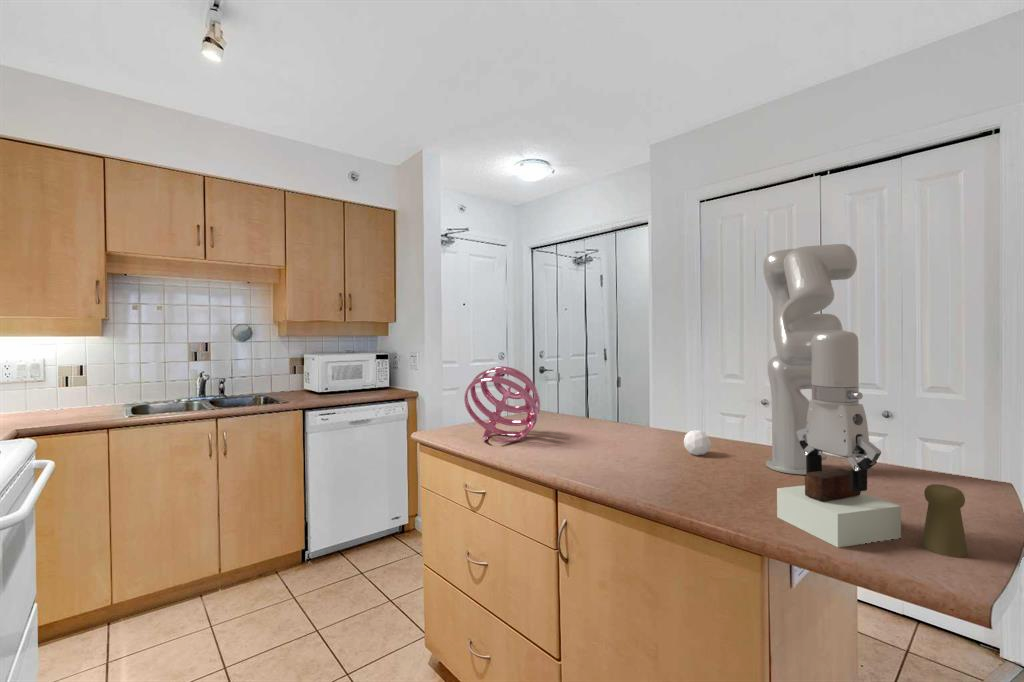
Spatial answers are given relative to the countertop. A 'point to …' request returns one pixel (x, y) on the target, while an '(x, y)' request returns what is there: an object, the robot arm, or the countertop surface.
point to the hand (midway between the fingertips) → (835, 482)
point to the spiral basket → (504, 402)
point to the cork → (944, 521)
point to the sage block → (840, 517)
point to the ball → (697, 442)
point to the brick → (829, 485)
